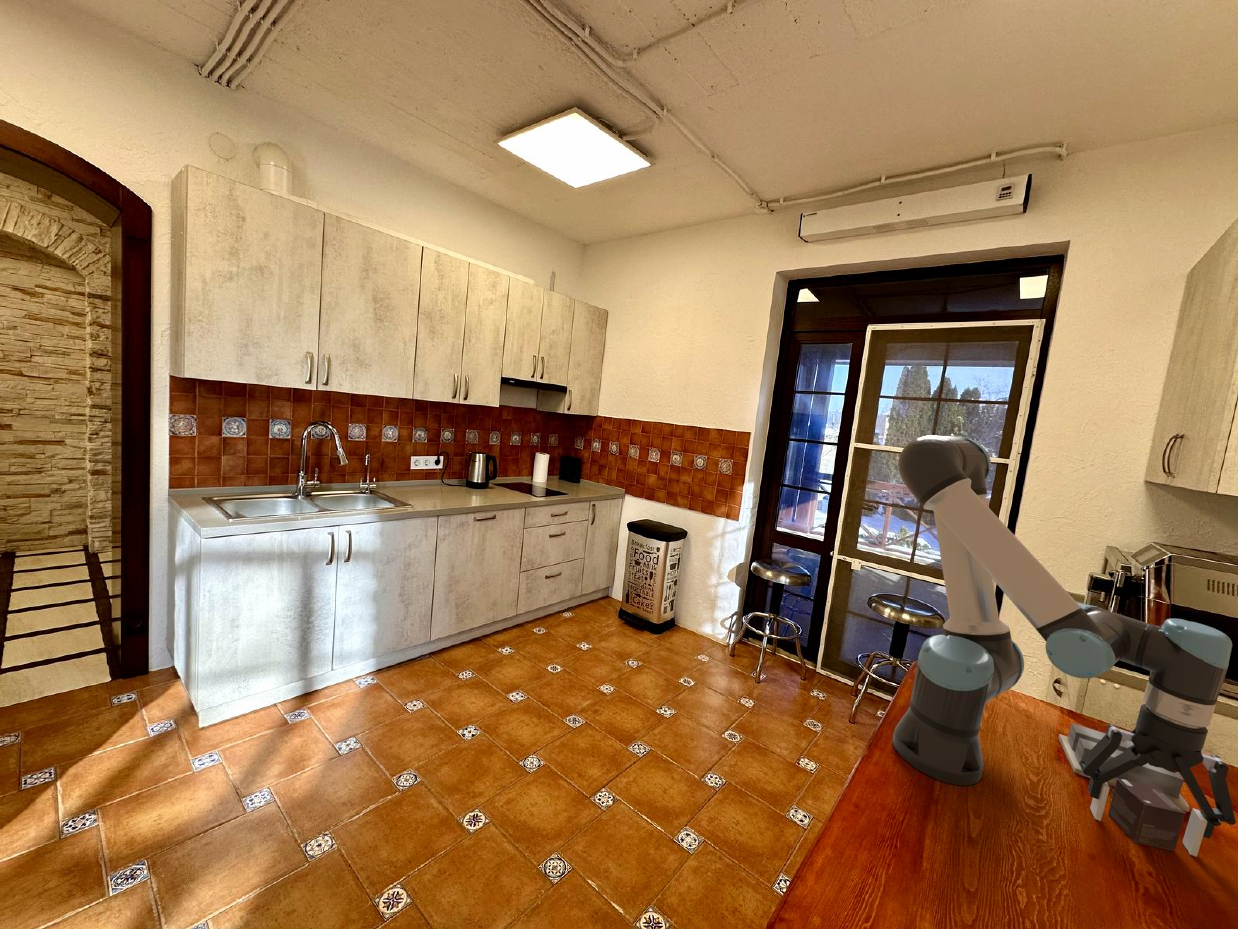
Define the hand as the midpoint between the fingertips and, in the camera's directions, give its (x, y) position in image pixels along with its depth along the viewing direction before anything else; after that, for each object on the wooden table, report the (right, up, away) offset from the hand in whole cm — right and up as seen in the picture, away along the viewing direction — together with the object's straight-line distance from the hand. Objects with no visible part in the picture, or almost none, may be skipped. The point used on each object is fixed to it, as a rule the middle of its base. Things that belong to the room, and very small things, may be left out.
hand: (1140, 831), depth 86 cm
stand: (+11, +1, +15) cm, 18 cm away
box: (0, 0, 0) cm, 0 cm away
